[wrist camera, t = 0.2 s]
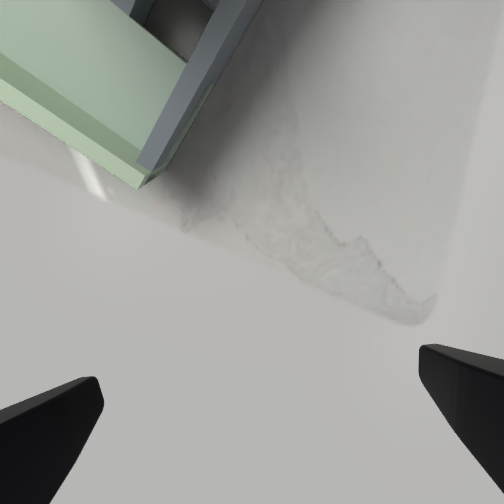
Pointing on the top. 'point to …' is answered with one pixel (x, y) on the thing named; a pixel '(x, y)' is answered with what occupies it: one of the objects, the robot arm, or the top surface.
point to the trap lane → (112, 76)
